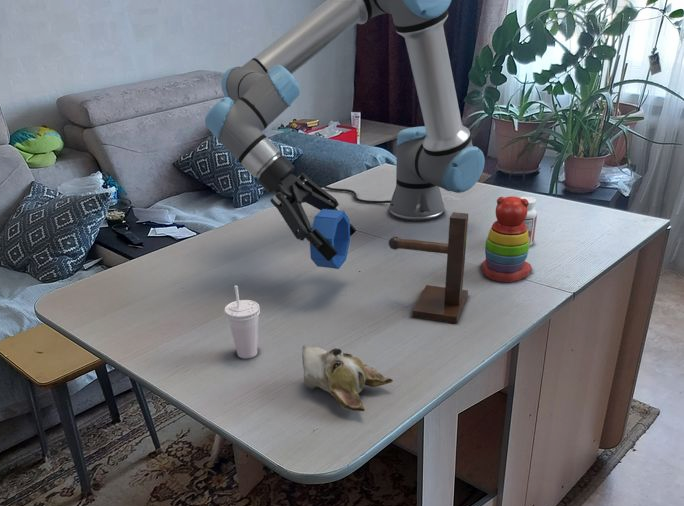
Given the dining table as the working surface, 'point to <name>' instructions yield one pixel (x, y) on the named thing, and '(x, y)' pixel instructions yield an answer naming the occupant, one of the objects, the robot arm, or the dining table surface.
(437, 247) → the stand
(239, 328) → the smoothie
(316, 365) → the ceramic sculpture
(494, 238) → the stacking bear
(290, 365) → the dining table surface
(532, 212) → the pill bottle
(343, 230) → the tape
